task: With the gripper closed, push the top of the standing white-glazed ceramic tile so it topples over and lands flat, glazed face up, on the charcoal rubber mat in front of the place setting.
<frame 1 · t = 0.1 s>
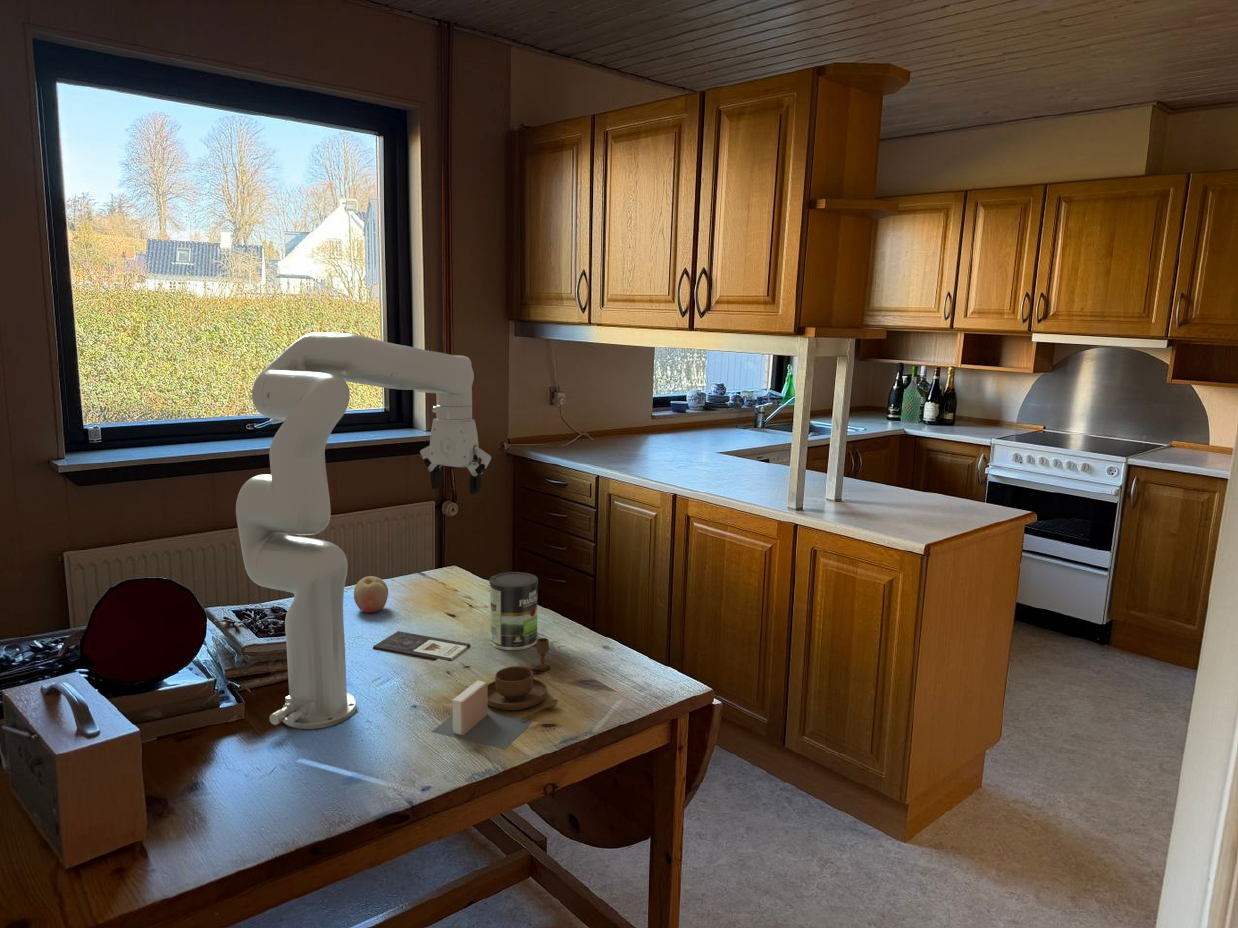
hand: (455, 490, 181), 31 cm above the table, fingers open, 9 cm apart
tile: (470, 723, 142), point 1 cm above the table, touching mat
place setting: (531, 692, 155), on the table, touching mat
mat: (483, 729, 142), on the table
chocolate bar: (421, 650, 175), on the table
fruit: (371, 611, 195), on the table
coffee can: (513, 641, 179), on the table
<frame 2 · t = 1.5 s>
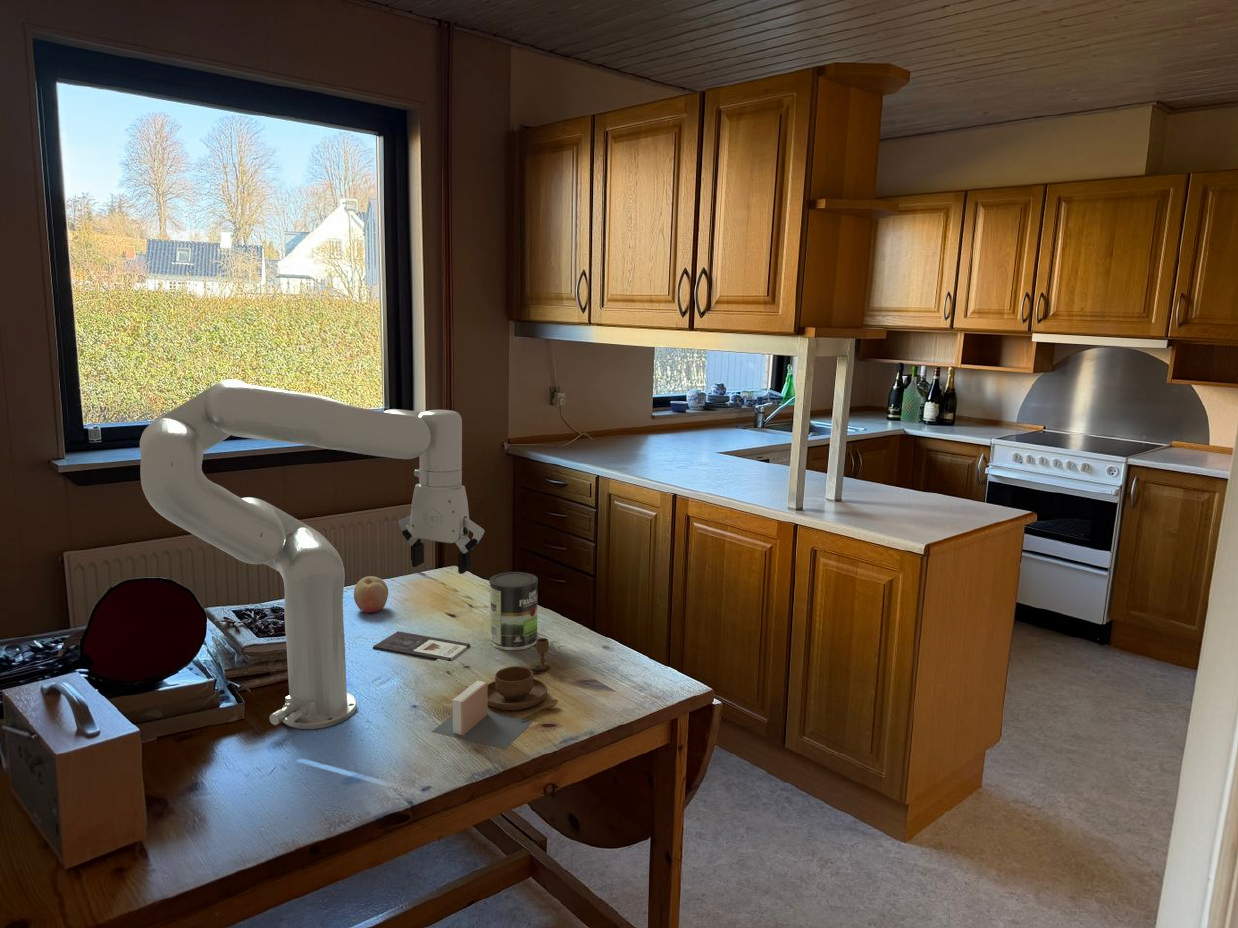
hand: (440, 568, 153), 23 cm above the table, fingers open, 9 cm apart
nothing on the table moved.
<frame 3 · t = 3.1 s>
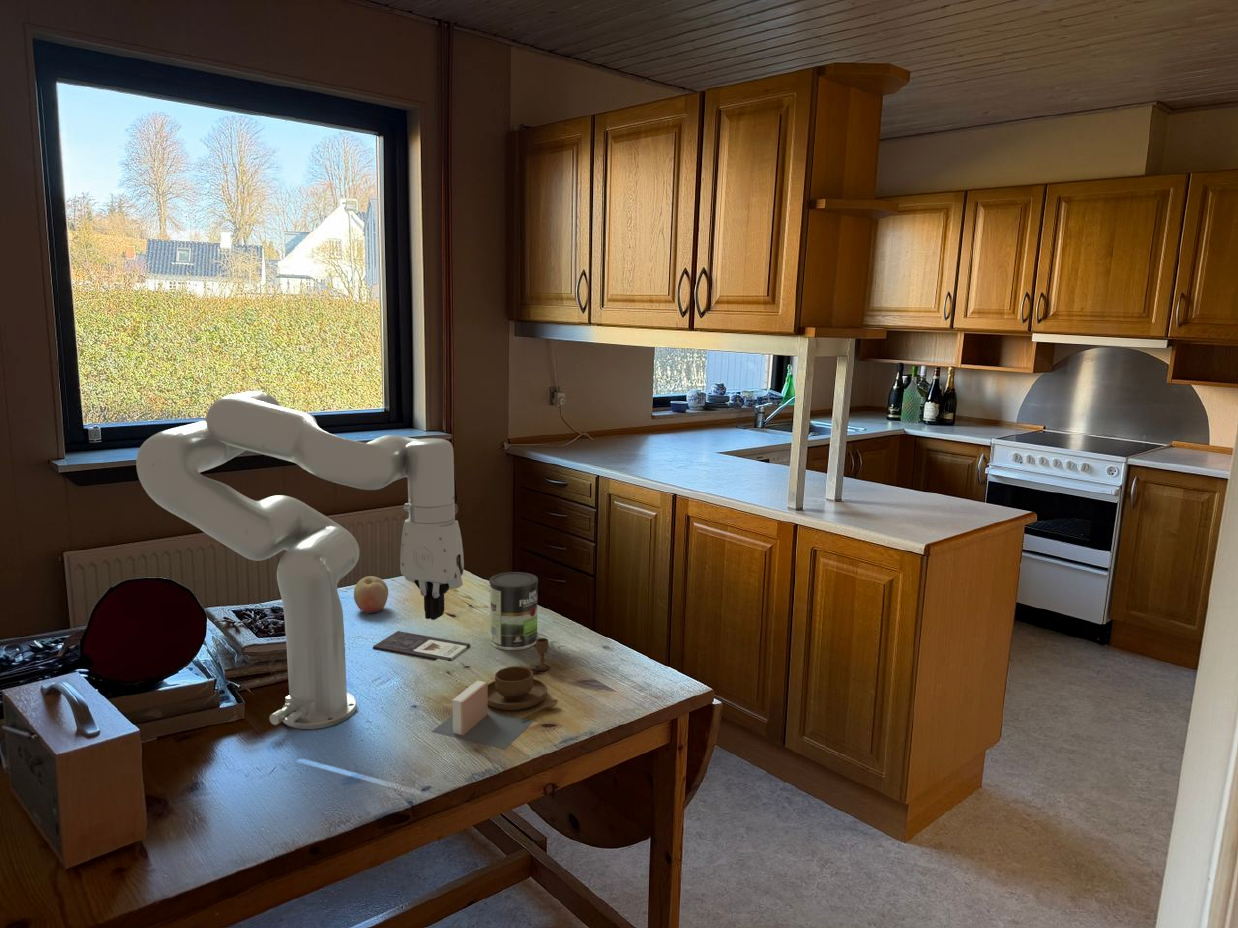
hand: (434, 616, 141), 19 cm above the table, fingers closed
nothing on the table moved.
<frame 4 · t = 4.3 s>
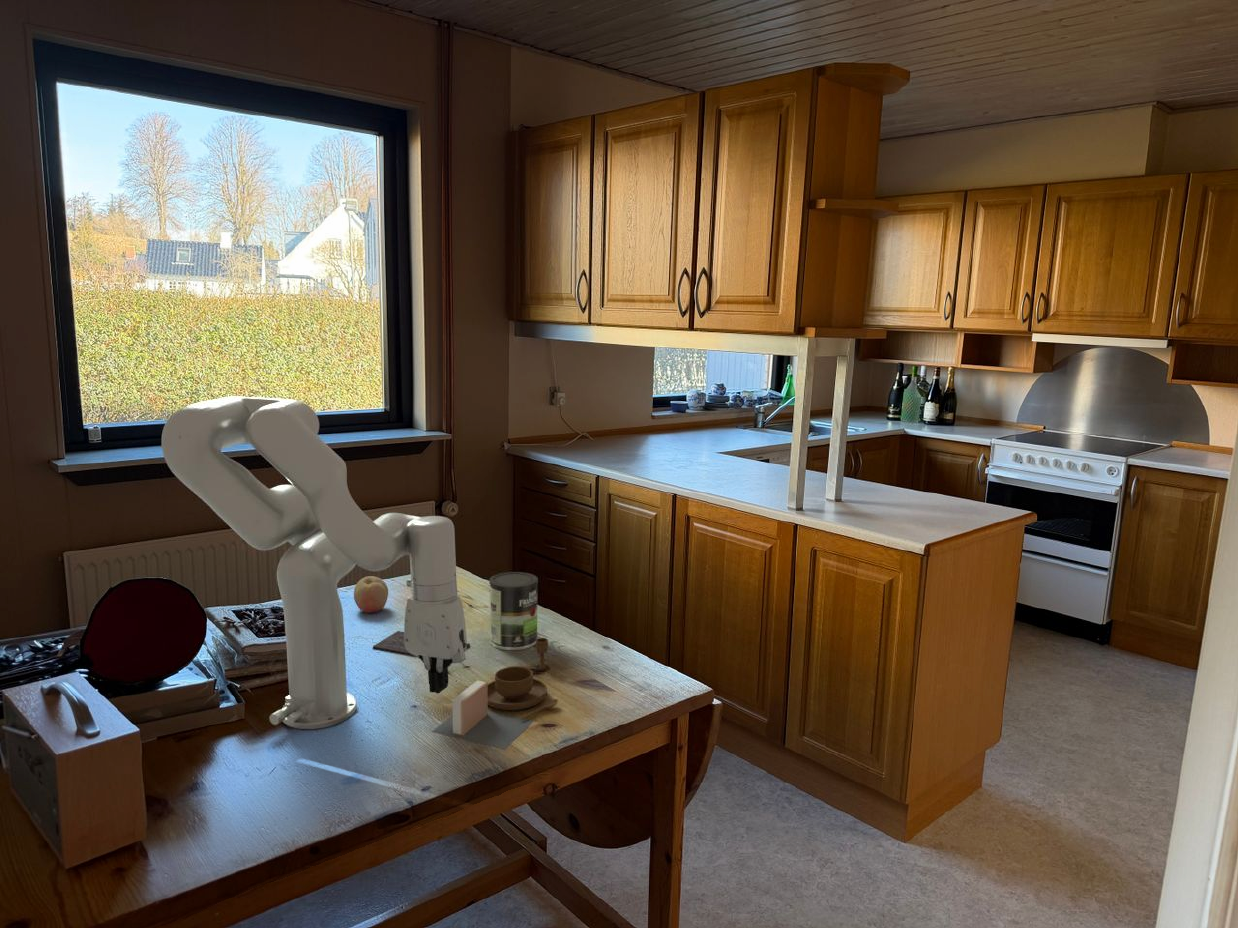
hand: (438, 689, 144), 6 cm above the table, fingers closed
nothing on the table moved.
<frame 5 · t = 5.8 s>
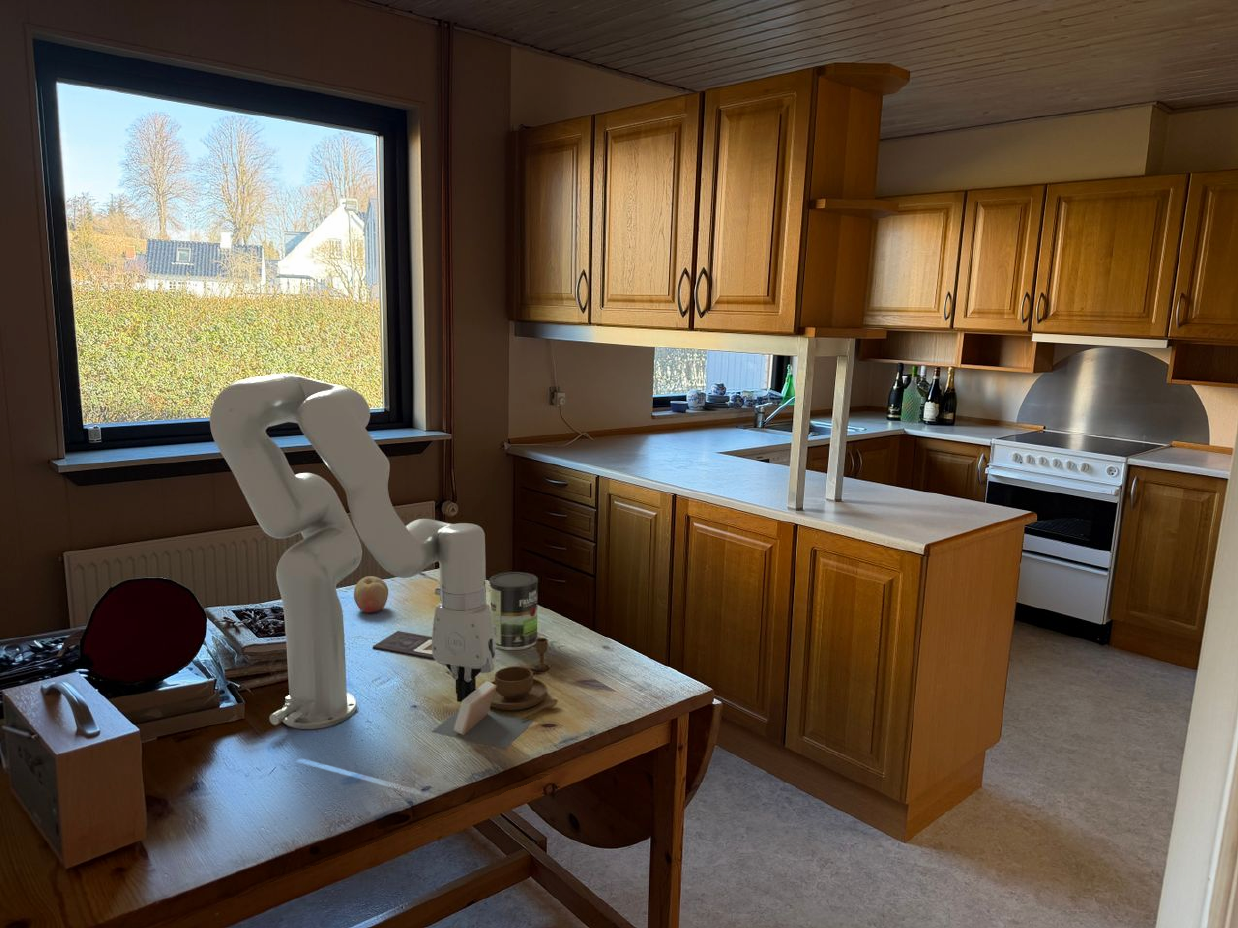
hand: (466, 698, 142), 5 cm above the table, fingers closed
tile: (471, 721, 142), point 1 cm above the table, tilted 18°, touching mat
everything else where it was.
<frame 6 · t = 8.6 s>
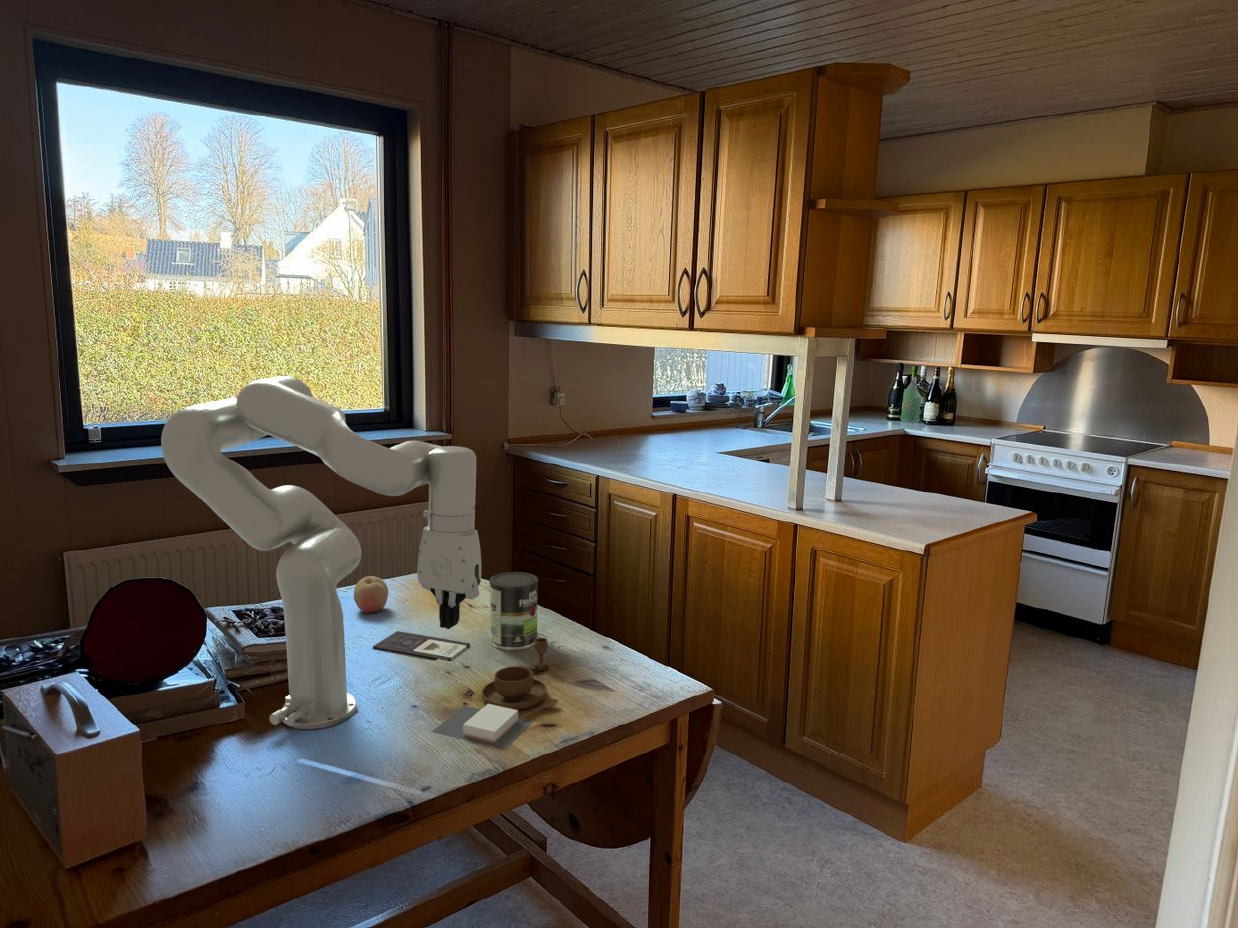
hand: (449, 625, 140), 18 cm above the table, fingers closed
tile: (475, 719, 142), point 2 cm above the table, tilted 90°, touching mat
everything else where it was.
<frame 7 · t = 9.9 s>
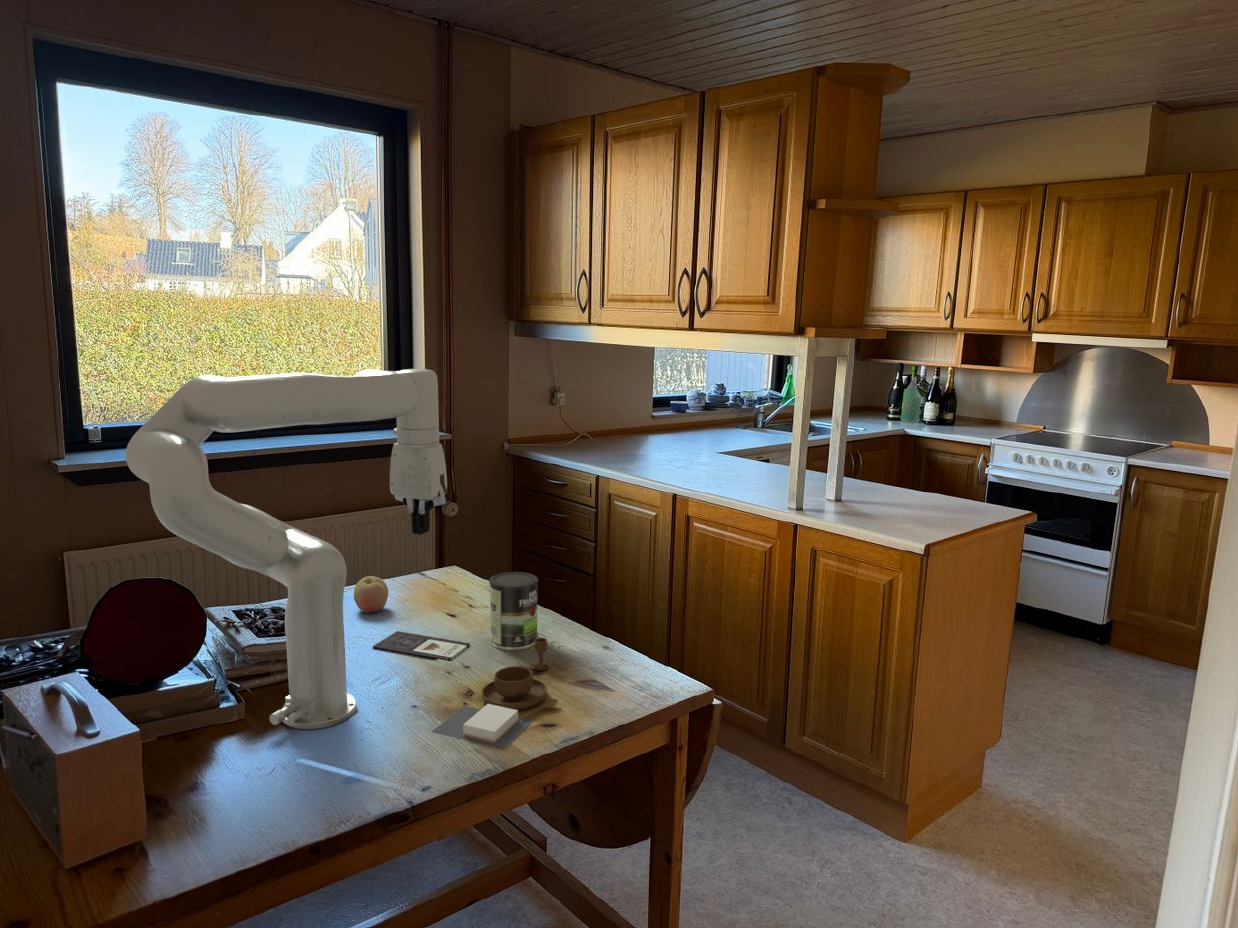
hand: (420, 532, 156), 29 cm above the table, fingers closed
nothing on the table moved.
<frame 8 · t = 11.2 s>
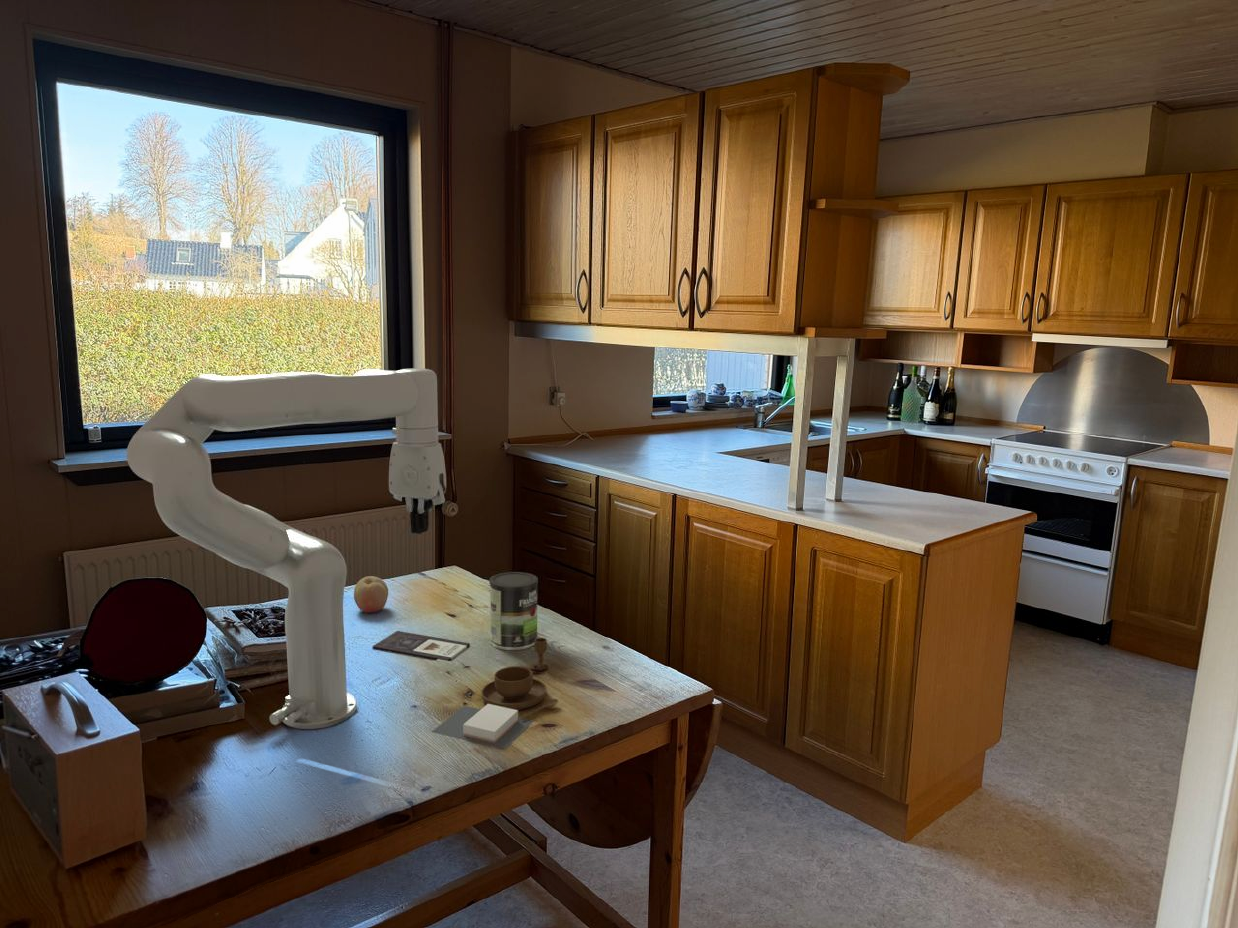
hand: (419, 531, 156), 29 cm above the table, fingers closed
nothing on the table moved.
at the end: tile tilted 90°; tile inside the target area on the mat (1.5 cm from its centre), point 1.6 cm above the mat's base; tile touching mat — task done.
